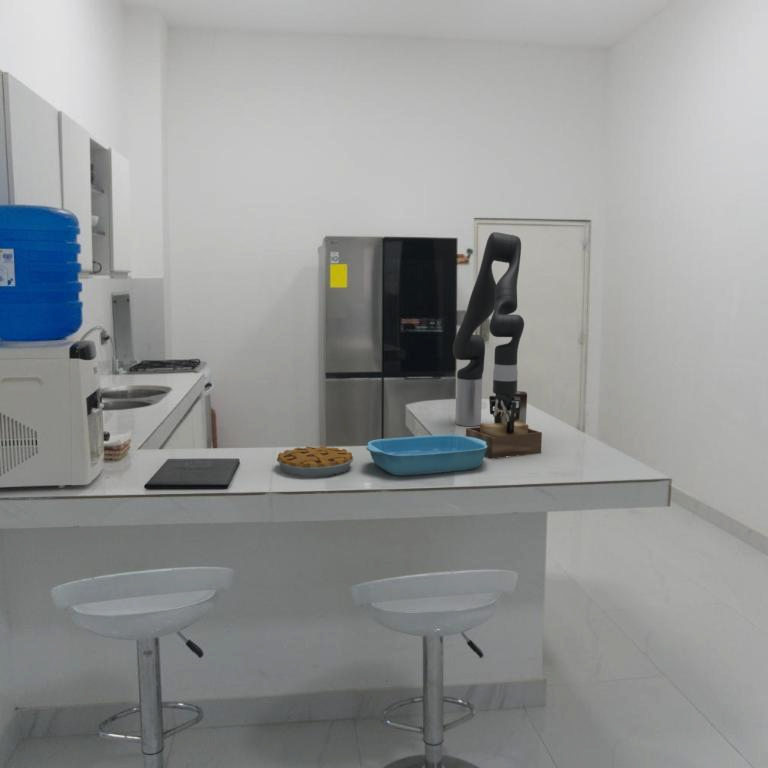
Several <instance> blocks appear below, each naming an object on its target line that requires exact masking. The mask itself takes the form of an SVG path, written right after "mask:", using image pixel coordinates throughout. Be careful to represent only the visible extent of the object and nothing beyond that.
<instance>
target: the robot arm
mask: <svg viewBox="0 0 768 768" xmlns="http://www.w3.org/2000/svg"><path fill="white" fill-rule="evenodd" d="M521 254H522V241H521V238H520V237H519V236H517V235H514V234H509V233H505V232H504V233H502V232H497V231H494V232H491V233H490V234H489V236H488V239H486V244H485V248H484V251H483V256H482V260H481V263H480V268H479V272H478V273H477V278H476V280H475V284H474V285H473V286H474V287H473V289H472V292H471V295H470V297H469V301H468V304H467V307H466V311H465V314H464V316H463V320H462V322H461V325H460V327H459V328H458V331H457V332H456V333H457V334H456V335H455V337H454V341H453V345H452V354H453V356H454V358H455V359H456V360H458V361H469V363H468V364H467V365H465V366H464V367H462V368H460V369H458V370H457V371H456V372H457V373H456V396H455V397H456V398H455V414H454V415H455V416H454V417H455V418H454V419H455V420H454V421H455V423H456V425H459V426H463V427H479V426H480V424H482V407H483V406H482V397H483V374H484V369H485V355H486V343H485V339H484V337H483V336H482V335H481V334H474V333H475V331H476V330H478V328H479V327H480V326H481V325H482V324H484V322H486V321H487V320H488V319H489V318H490V317H491V318H490V321H489V324H488V325H489V327H488V329H489V333H490V334H491V335H492V337H495V338H511V339H510V341H508V342H507V343H503V344H498V345H495V348H494V363H493V364H494V365H493V371H492V373H493V374H492V392H493V394H495V395H489V397H488V398H489V399H488V400H489V414H490V415H492V417H493V418H494V421H493V423H501V420H502V418H501V415H502V413H503V411H504V414H505V415H506V418H507V433H513V432H514V421H515V420H519V416H520V407H521V402H520V401H518V402H517V401H515V399H514V395H515V394H516V393H517V391H518V375H519V373H518V352H519V351H518V350H519V345H520V341H521V338H522V335H523V333H524V329H525V321H524V318H523V317H522V316H521V315H520V314H513V313H515V312H516V311H517V309H518V279H519V274H520V273H519V272H520V265H521V264H520V262H521V256H522V255H521ZM494 261H495V262H500V263H505V264H508V267H507V270H506V271H505V273H504V274H503V275H502V276H501V277H500V279H499V280H498V281H497V282H496V280H495V278H494V277H495V276H494V273H493V263H494ZM510 410H511V411H510ZM515 413H516V416H515ZM509 414H511V417H510V415H509Z"/></svg>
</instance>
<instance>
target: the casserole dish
mask: <svg viewBox="0 0 768 768" xmlns="http://www.w3.org/2000/svg"><path fill="white" fill-rule="evenodd" d="M365 449H366V450H367V451H368V452H369V453H370V456H371V459H372V460H373V463H375V464H376V465H377V466H378V467H379V468H381V470H384V471H385V472H387V473H388V474H390V475H394V476H402V477H403V476H418V475H428V474H429V475H430V474H439V473H440V474H441V473H442V472H444V473H450V472H451V473H452V471H453V472H461V471H460V470H462V471H468V470H467V469H470V470H474V469H477V468H478V467H479V466H480V465H481V464H482V462H483V460H484V458H485V456H484V455H485V452H486V449H487V445H486V442H485V441H483V440H481V439H477V438H472V437H467V436H466V435H461V434H434V435H433V434H432V435H420V436H418V435H417V436H405V437H404V436H403V437H392V438H380V439H373V440H370V441H368V442H367V445H366V446H365ZM473 468H474V469H473Z"/></svg>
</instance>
